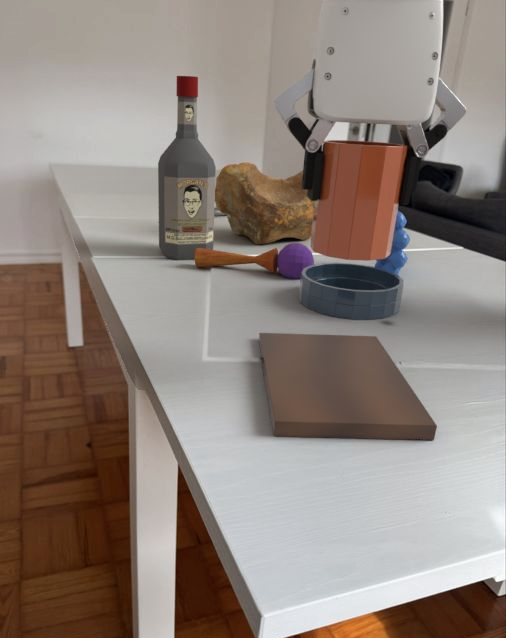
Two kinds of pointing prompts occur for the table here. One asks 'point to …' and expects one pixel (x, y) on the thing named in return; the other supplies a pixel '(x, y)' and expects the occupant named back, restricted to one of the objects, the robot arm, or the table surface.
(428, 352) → the table surface
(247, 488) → the table surface
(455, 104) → the robot arm
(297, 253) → the kendama
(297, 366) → the board
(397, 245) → the grapes
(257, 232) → the rough brown rock
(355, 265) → the bowl
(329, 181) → the cup
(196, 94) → the liquor
